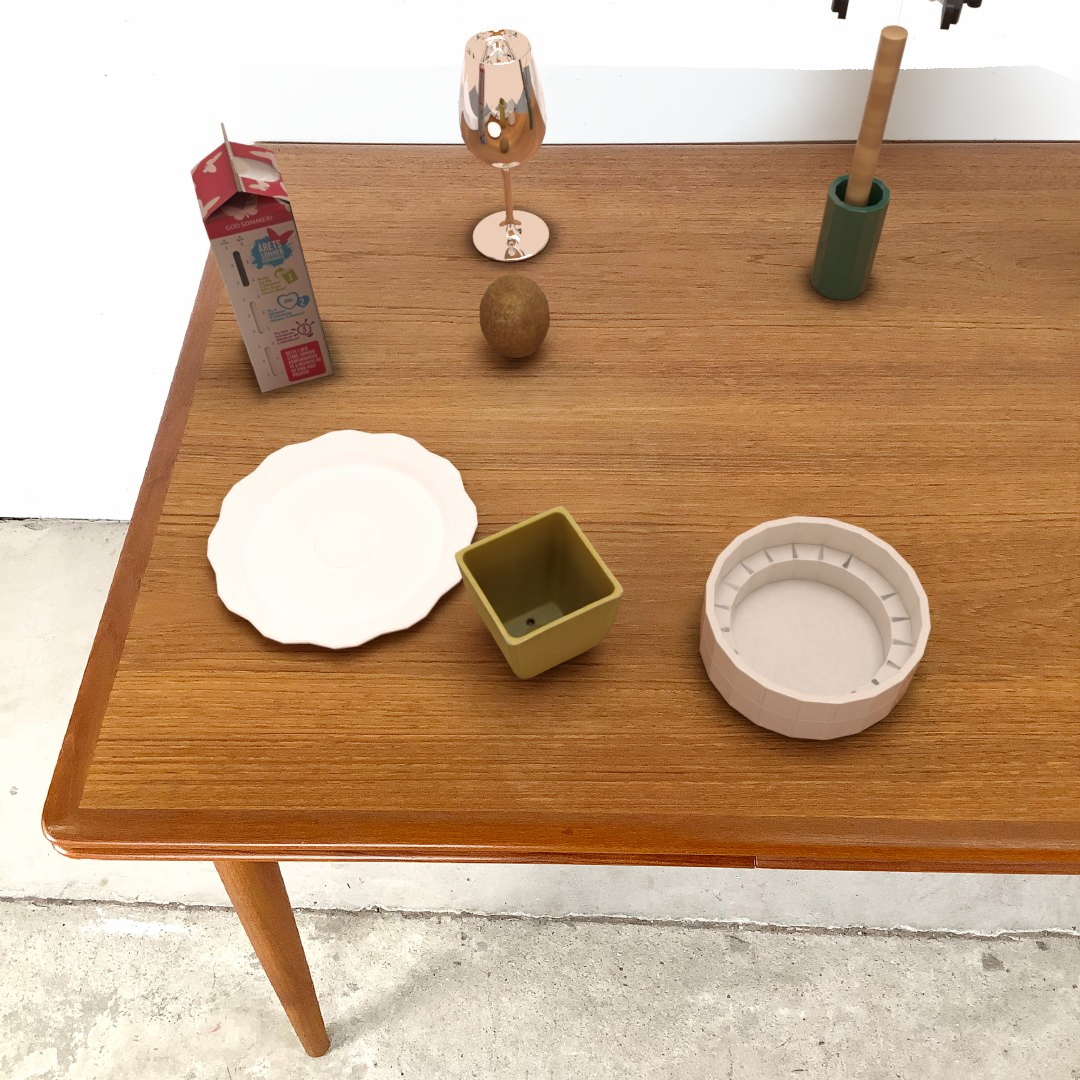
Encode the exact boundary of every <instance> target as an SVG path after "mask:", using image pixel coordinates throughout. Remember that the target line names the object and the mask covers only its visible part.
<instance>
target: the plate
mask: <svg viewBox="0 0 1080 1080" xmlns="http://www.w3.org/2000/svg"><path fill="white" fill-rule="evenodd" d="M219 512H220V513H219V517H218V518H219V519H218V520H217V522H216V524H215V525H214V527H213V529H212V531H211V533H210V535H209V537H208V539H207V551H206V552H207V553H206V556H207V559H208V561H209V563H210V565H211V567H212V569H213V571H214V573H215V581H216V589H217V590H216V591H217V595H218V597H219V598H220V600H221V601H222V603H223V604H224V606H225V607H226V608H227V610H228V611H229V612H231V613H232V614H235V615H237V616H239V617H241V618H243V619H245V620H247V621H248V622H249V623H251V624H252V626H253V627H254V628H255V629H256V630H257V631H258V632H259V633H260V634H261V635H262V636H263V637H264V638H266V639H270V640H272V641H274V642H277V643H280V644H283V645H298V644H299V645H300V644H301V645H302V644H303V645H304V644H308V645H309V644H310V645H314V646H319V647H323V648H328V649H331V650H341V649H347V648H348V649H349V648H356V647H360V646H361V645H364V644H365V643H366V644H367V642H369V641H371V640H374V639H375V638H378V637H380V636H382V635H387V634H391V633H395V632H399V631H403V630H408V629H410V628H411V627H413V626H414V625H416V624H417V623H419V622H420V621H422V620H424V619H425V618H427V617H428V615H429V614H430V613H431V611H432V610H433V608H434V607H435V606H436V604H437V603H438V602H439V600H440V599H441V598H442V597H443V596H444V595H446V594H447V593H448V592H449V591H451V590H452V589H453V588H454V587H456V586H457V585H458V584H459V583H461V581H462V580H463V579H462V576H461V573H460V570H459V567H458V565H457V562H456V559H455V553H456V552H458V551H460V550H461V549H463V548H465V547H467V546H469V545H471V544H472V541H473V538H474V536H475V533H476V531H477V529H478V525H479V523H478V514H477V506H476V505H475V504H474V502H473V500H472V499H471V498H470V496H469V494H468V493H467V492H466V490H465V486H464V484H463V480H462V476H461V472H460V471H459V470H458V468H456V467H455V466H454V465H453V463H452V462H451V461H450V460H449V459H447V458H444V457H442V456H440V455H438V454H435V453H433V452H432V451H429V450H428V449H427V448H425V447H424V446H423V445H421V444H420V443H419V442H418V441H416V439H414V438H412V437H409V436H405V435H402V434H399V433H396V432H394V433H393V432H389V433H388V432H387V433H385V432H384V433H371V432H365V431H360V430H354V429H344V430H335V431H329V432H327V433H325V434H323V435H320V436H318V437H315V438H313V439H311V440H308V441H303V442H298V443H294V444H289V445H284V446H283V447H282V448H280V449H278V450H276V451H274V452H272V453H270V454H268V455H267V456H266V457H265V458H264V460H263V461H262V462H261V463H260V464H259V465H258V466H257V468H256V469H254V471H252V472H251V473H249V474H248V475H247V476H244V477H243V478H242V479H241V480H239V481H238V482H236V483H234V484H233V486H232V487H231V489H230V490H229V491H228V492H227V494H226V496H224V498H223V499H222V503H221V508H220V511H219Z"/></svg>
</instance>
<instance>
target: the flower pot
mask: <svg viewBox="0 0 1080 1080" xmlns="http://www.w3.org/2000/svg"><path fill="white" fill-rule="evenodd" d="M455 559H456V562H457V565H458V567H459V570H460V573H461V576H462V579H461V580H462V581H463V585H464V587H465V591H466V593H467V596H468V597H469V600H470V602H471V603H472V606H473V607H474V609H475V610H476V612H477V614H478V615H479V617H480V618H481V620H482V621H483V623H484V625H485V626H486V628H487V629H488V631H489V632H490V635H491V636H492V637H493V639H494V641H495V643H496V644H497V646H498V648H499V649H500V651H501V653H502V654H503V656H504V658H505V659H506V662H507V663H508V665H509V666H510V668H511V670H512V672H513V673H514V674H515V676H516V677H517V678H519V679H523V680H527V679H530V678H534V677H536V676H538V675H540V674H542V673H545V672H546V671H548V670H550V669H552V668H554V667H556V666H558V665H560V664H562V663H565V662H567V661H569V660H571V659H573V658H575V657H578V656H579V655H581V654H584V653H585V652H587V651H589V650H591V649H592V648H594V647H596V646H598V644H600V643H601V642H602V641H603V640H605V638H606V637H607V636H608V635H609V633H610V632H611V630H612V628H613V626H614V623H615V620H616V617H617V614H618V610H619V607H620V604H621V601H622V598H623V595H624V588H623V586H622V585H621V583H620V582H619V581H618V579H617V578H616V576H615V575H614V574H613V572H612V571H611V570H610V568H609V567H608V566H607V564H606V563H605V562H604V560H603V559H602V557H601V556H600V555H599V553H598V552H597V551H596V548H594V546H593V544H592V543H591V541H590V540H589V539H588V537H587V536H586V535H585V533H584V532H583V531H582V529H581V527H580V526H579V525H578V523H577V522H576V520H575V519H574V518H573V516H572V514H570V512H569V511H568V510H567V509H566V508H565V507H564V506H563V505H560V506H556V507H553V508H550V509H548V510H546V511H543V512H540V513H538V514H536V515H534V516H532V517H530V518H528V519H525V520H523V521H521V522H519V523H516V524H513V525H512V526H509V527H507V528H506V529H503V530H501V531H498V532H497V533H494V534H492V535H489V536H487V537H485V538H482V539H480V540H478V541H475V542H473V543H471V544H470V545H469V546H467V547H465V548H463V549H461V550H460V551H458V552H456V553H455ZM528 621H533V624H532V625H529V623H528Z"/></svg>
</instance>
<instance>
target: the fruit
mask: <svg viewBox="0 0 1080 1080" xmlns="http://www.w3.org/2000/svg"><path fill="white" fill-rule="evenodd" d="M550 322H551V315H550V306H549V301H548V299H547V296H546V294H545V293H544V292H543V290H542V289H541V287H540V286H539V284H537V282H535V281H534V280H532V279H531V278H529V277H528V276H525V275H521V274H517V273H514V274H505V275H503V276H500V277H498V278H497V279H495V280H494V281H493V282H492V283H490V285H488V287H487V288H486V290H485V292H484V294H483V296H482V298H481V300H480V304H479V325H480V330H481V333H482V334H483V336H484V338H485V340H486V341H487V343H488V345H489V346H490V347H491V348H492V349H493V350H494V351H495V352H497V353H498V354H500V355H501V356H502V357H507V358H512V359H514V358H516V359H517V358H524V357H527V356H529V355H532V354H533V353H534V352H535V351H537V350H538V349H539V348H540V347H541V345H542V344H543V343H544V341H545V339H546V336H547V335H548V332H549V328H550V325H551V324H550Z"/></svg>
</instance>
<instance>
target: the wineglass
mask: <svg viewBox="0 0 1080 1080" xmlns="http://www.w3.org/2000/svg"><path fill="white" fill-rule="evenodd" d="M462 59H463V61H462V67H461V73H460V74H461V75H460V85H459V94H458V125H459V130H460V135H461V138H462V141H463V143H464V144H465V146H466V148H467V150H468V151H469V153H470V154H471V155H472V156H473V157H474V158H475V159H476V160H477V161H479V162H480V163H482V164H484V165H487V166H489V167H491V168H495V169H499V170H500V172H501V176H502V182H503V193H504V194H503V196H504V206H505V207H504V208H505V209H504V210H502V211H498V212H495V213H492V214H490V215H487V216H486V217H484V218H483V219H482V220H480V221H479V222H478V223H477V225H475V228H474V230H473V232H472V243H473V245H474V247H475V249H476V250H477V252H479V253H480V254H481V255H483V256H484V257H486V258H488V259H491V260H494V261H498V262H503V263H504V262H505V263H506V262H507V263H509V262H510V263H512V262H520V261H524V260H527V259H530V258H532V257H535V256H536V255H538V254H539V253H540V252H541V251H543V250H544V249H545V247H546V246H547V245H548V242H549V240H550V229H549V227H548V225H547V224H546V223H545V221H544V220H543V219H542V218H541V217H540V216H537V215H536V214H534V213H532V212H528V211H525V210H518V209H517V210H515V209H514V208H513V207H514V206H513V193H512V172H513V171H512V170H513V169H514V168H516V167H517V168H518V167H519V166H521V165H523V164H525V163H526V162H528V161H529V160H531V159H532V158H533V157H534V156H535V154H536V153H537V152H538V150H539V149H540V147H541V146H542V144H543V142H544V138H545V136H546V133H547V123H548V122H547V121H548V120H547V119H548V117H547V107H546V101H545V95H544V91H543V87H542V82H541V77H540V73H539V70H538V69H539V68H538V66H537V62H536V59H535V55H534V52H533V48H532V45H531V41H530V39H529V38H528V37H527V36H526V35H525V34H523V33H522V32H520V31H517V30H514V29H511V28H491V29H486V30H482V31H480V32H477V33H475V34H474V35H472V36H471V37H469V39H468V40H467V41H466V43H465V46H464V53H463V58H462Z"/></svg>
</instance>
